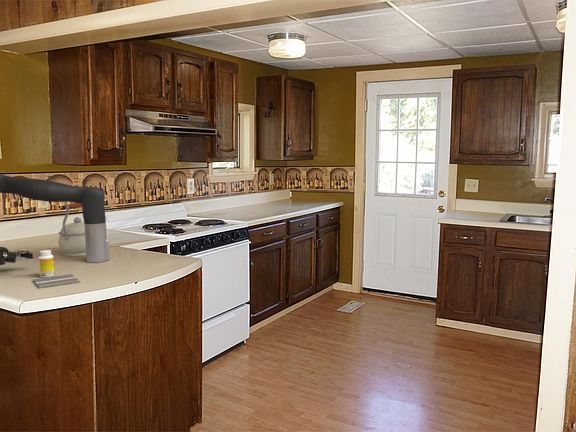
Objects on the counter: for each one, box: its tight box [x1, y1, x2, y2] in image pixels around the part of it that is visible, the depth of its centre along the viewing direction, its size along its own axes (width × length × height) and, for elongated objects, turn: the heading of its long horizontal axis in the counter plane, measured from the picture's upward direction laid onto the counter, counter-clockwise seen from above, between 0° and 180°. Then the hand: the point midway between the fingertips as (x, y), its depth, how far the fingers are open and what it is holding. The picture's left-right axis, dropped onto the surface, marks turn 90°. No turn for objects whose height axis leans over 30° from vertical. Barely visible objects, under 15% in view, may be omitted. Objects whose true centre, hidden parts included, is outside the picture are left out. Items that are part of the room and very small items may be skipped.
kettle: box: [58, 202, 86, 257], centre depth 251 cm, size 25×18×25 cm
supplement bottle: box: [37, 249, 56, 278], centre depth 204 cm, size 6×6×10 cm
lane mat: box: [32, 273, 81, 289], centre depth 195 cm, size 14×14×1 cm
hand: (23, 257), depth 207 cm, fingers open, 8 cm apart
